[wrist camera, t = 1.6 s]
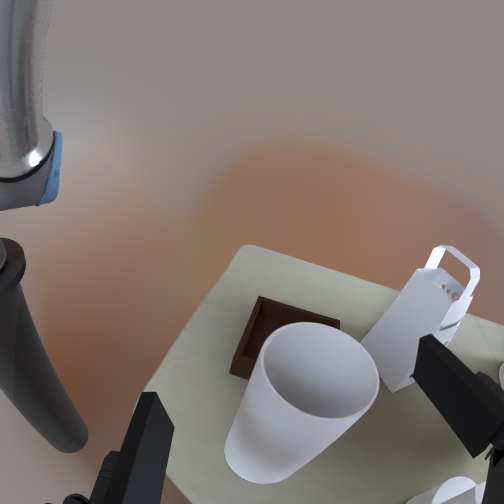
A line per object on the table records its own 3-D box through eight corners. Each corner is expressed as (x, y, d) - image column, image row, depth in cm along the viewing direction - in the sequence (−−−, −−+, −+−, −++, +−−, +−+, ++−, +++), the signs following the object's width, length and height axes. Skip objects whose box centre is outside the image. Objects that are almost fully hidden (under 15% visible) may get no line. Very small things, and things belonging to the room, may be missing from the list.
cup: (309, 436, 26) (383, 347, 18) (283, 495, 19) (370, 439, 11) (245, 408, 28) (286, 306, 21) (209, 462, 21) (235, 384, 14)
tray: (328, 401, 31) (338, 387, 29) (228, 373, 32) (233, 357, 31) (332, 335, 42) (340, 320, 40) (254, 311, 44) (258, 295, 42)
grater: (397, 334, 45) (450, 239, 35) (429, 374, 36) (497, 276, 27) (357, 344, 41) (416, 234, 31) (391, 393, 32) (473, 281, 23)
